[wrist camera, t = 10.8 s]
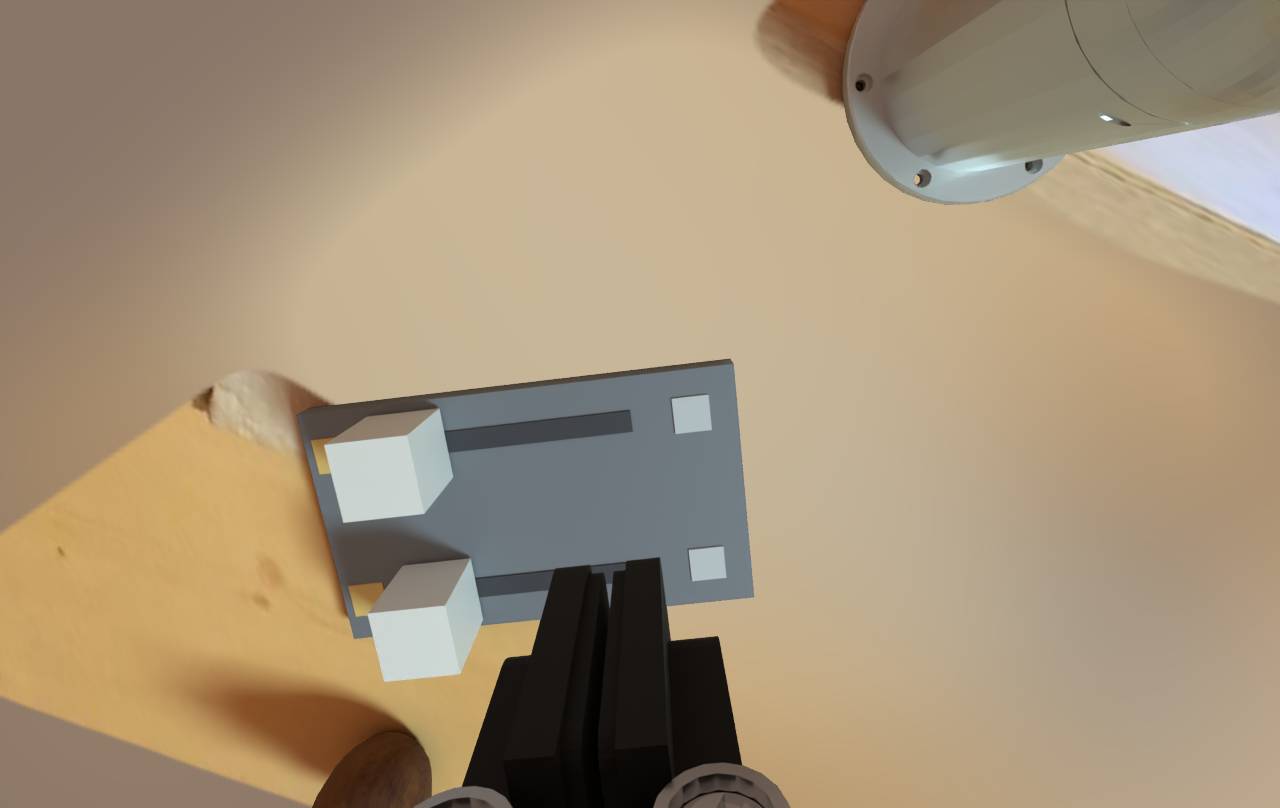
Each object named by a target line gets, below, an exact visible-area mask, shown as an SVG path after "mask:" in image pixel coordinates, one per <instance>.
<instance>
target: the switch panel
mask: <svg viewBox="0 0 1280 808" xmlns="http://www.w3.org/2000/svg"><path fill="white" fill-rule="evenodd" d="M437 408H439V409H440V414H441V419H442V424H443V429H444V434H445V438H446V443H447V448H448V453H449V458H450V463H451V468H452V473H453V478H452V479H451V481H450V482H449V483H448V485H447V486H446V487H445V488H444V490H443V491H442V492H441V493H440V495H439V496H438V497H437V498H436V500H435V501H434V502H433V503H432V505H431V506H430V507H429V508H428V510H427V511H426V512H425V514H419V515H410V516H401V517H392V518H383V519H374V520H365V521H356V522H347V523H343V519H342V515H341V511H340V507H339V503H338V499H337V495H336V491H335V487H334V483H333V479H332V475H331V471H330V467H329V463H328V459H327V455H326V451H325V447H324V444H326V443H328V442H329V441H331V440H332V439H334V438H335V437H337V436H338V435H340V434H341V433H343V432H344V431H346V430H347V429H349V428H351V427H352V426H354V425H355V424H357V423H358V422H360V421H361V420H363V419H364V418H366V417H368V416H377V415H385V414H394V413H402V412H411V411H419V410H428V409H437ZM296 416H297V420H298V424H299V428H300V432H301V435H302V439H303V443H304V447H305V451H306V455H307V459H308V462H309V466H310V470H311V474H312V478H313V482H314V486H315V489H316V493H317V497H318V501H319V505H320V509H321V513H322V516H323V520H324V524H325V528H326V532H327V536H328V540H329V543H330V547H331V551H332V555H333V559H334V563H335V567H336V570H337V574H338V578H339V582H340V586H341V590H342V594H343V597H344V601H345V605H346V609H347V613H348V617H349V621H350V624H351V628H352V632H353V636H354V639H356V638H366V637H373V634H372V630H371V626H370V622H369V618H368V614H367V613H368V612H369V611H370V609H371V608H372V607H373V605H374V604H375V603H376V601H377V600H378V599H379V597H380V596H381V594H382V593H383V592H384V590H385V589H386V588H387V586H388V585H389V584H390V582H391V581H392V579H393V578H394V577H395V575H396V574H397V573H398V571H399V570H400V569H401V567H402V566H404V565H413V564H422V563H431V562H441V561H450V560H459V559H469V558H471V562H472V567H473V572H474V577H475V582H476V587H477V592H478V597H479V602H480V606H481V611H482V616H483V621H482V623H481V625H491V624H501V623H510V622H520V621H530V620H539V619H541V617H542V613H543V610H544V606H545V602H546V598H547V595H548V591H549V587H550V584H551V580H552V576H553V573H554V570H555V568H563V567H573V566H582V565H590V566H591V569H592V573H604V575H605V580H606V586H607V592H608V599H609V606H610V603H611V592H612V582H613V572H614V571H621V570H625V568H626V561H629V560H638V559H648V558H657V557H660V560H661V566H662V574H663V582H664V590H665V598H666V606H673V605H684V604H693V603H702V602H713V601H721V600H732V599H741V598H751V597H754V592H753V591H754V590H753V580H752V568H751V557H750V545H749V533H748V522H747V511H746V500H745V488H744V477H743V465H742V454H741V442H740V431H739V420H738V409H737V398H736V386H735V375H734V364H733V362H732V361H731V359H724V360H715V361H706V362H698V363H689V364H681V365H672V366H664V367H655V368H647V369H639V370H630V371H622V372H613V373H605V374H596V375H587V376H579V377H570V378H562V379H553V380H545V381H536V382H528V383H519V384H511V385H504V386H494V387H486V388H477V389H468V390H460V391H452V392H443V393H435V394H426V395H418V396H409V397H400V398H392V399H383V400H375V401H366V402H358V403H349V404H341V405H332V406H324V407H315V408H309V409H307V410H305V411H303V412H301V413H299V414H297V415H296Z"/></svg>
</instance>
